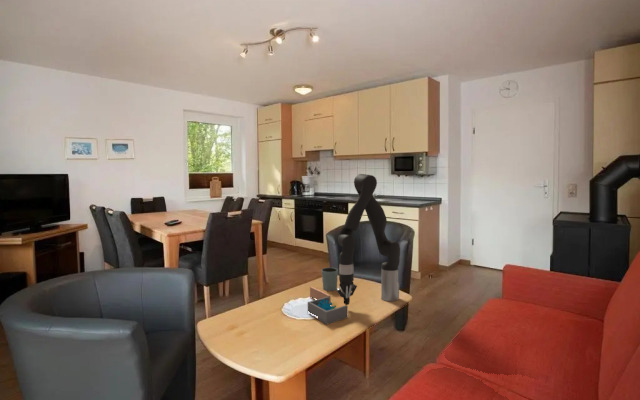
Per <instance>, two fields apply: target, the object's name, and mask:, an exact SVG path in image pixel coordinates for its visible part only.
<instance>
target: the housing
mask: <svg viewBox="0 0 640 400" xmlns="http://www.w3.org/2000/svg"><path fill="white" fill-rule="evenodd" d="M323 299H324V300H325V301H324V303H326V300H328V301H329V297H325V298H321V299H317V300H315V299H312V300H310V301H307V312H308V311H309V312H310V313H312V314H314V315H316V316H318V319H317V320H318V321H320V322H322V323H323V324H325V325H329V324H332V323H335V322H338V321H342V320H344V319H347V318H348V305H345V304H344V305H342V306H339V307H335V309H332V310H328V311H326V310H324V309H322V308H320V307H318V304H320V303H319V302H320V301H322V300H323ZM322 304H323V302H322ZM328 304H329V302H328ZM320 305H321V304H320Z"/></svg>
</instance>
